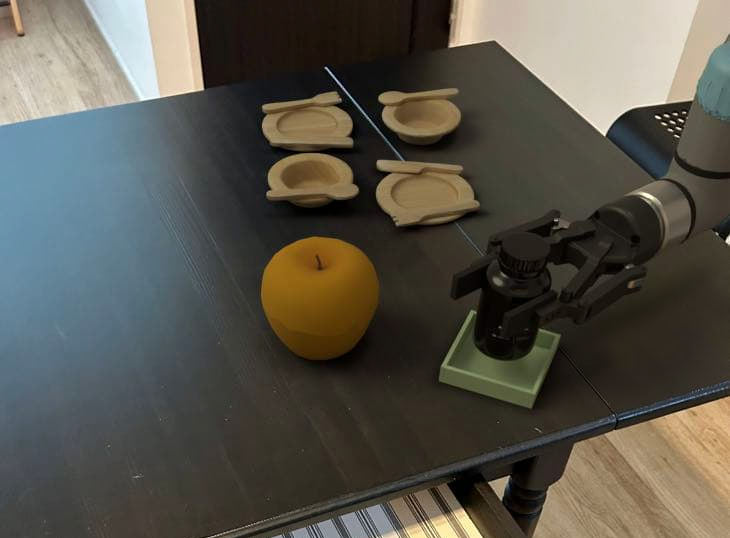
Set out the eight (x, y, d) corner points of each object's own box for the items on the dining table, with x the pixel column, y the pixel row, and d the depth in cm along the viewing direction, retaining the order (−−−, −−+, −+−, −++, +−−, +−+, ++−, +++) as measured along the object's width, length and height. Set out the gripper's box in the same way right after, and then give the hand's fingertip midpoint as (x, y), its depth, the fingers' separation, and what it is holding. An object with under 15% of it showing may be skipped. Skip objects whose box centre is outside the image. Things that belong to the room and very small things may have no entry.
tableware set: (263, 106, 127) (261, 78, 124) (451, 103, 128) (454, 75, 125) (259, 239, 107) (257, 210, 103) (484, 235, 107) (489, 206, 104)
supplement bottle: (498, 372, 87) (520, 275, 77) (458, 336, 90) (474, 239, 80) (548, 348, 89) (575, 251, 79) (507, 314, 92) (528, 217, 83)
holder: (555, 351, 94) (561, 334, 92) (530, 411, 88) (535, 394, 86) (468, 327, 96) (471, 309, 94) (438, 383, 91) (440, 366, 89)
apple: (248, 322, 97) (240, 236, 88) (348, 294, 100) (350, 208, 91) (290, 392, 90) (287, 306, 81) (396, 359, 93) (404, 273, 84)
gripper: (695, 303, 88) (540, 391, 80) (562, 217, 98) (412, 288, 90) (722, 242, 82) (558, 329, 74) (578, 156, 92) (419, 226, 84)
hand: (479, 306), depth 82 cm, fingers closed on supplement bottle, 7 cm apart
